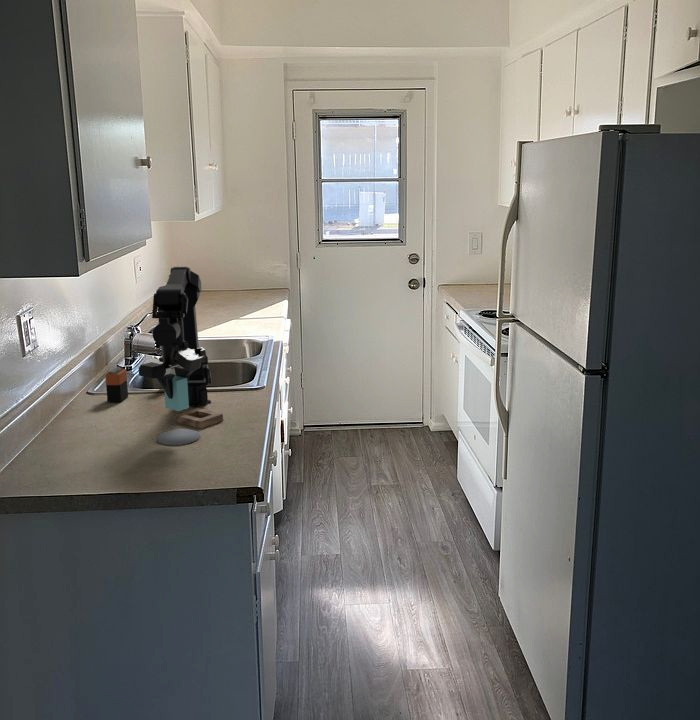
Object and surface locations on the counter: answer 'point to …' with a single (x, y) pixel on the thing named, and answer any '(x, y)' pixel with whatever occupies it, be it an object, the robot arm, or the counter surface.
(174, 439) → the coaster
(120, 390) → the battery
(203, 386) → the robot arm
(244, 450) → the counter surface
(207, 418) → the brown flat piece
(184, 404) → the plug
